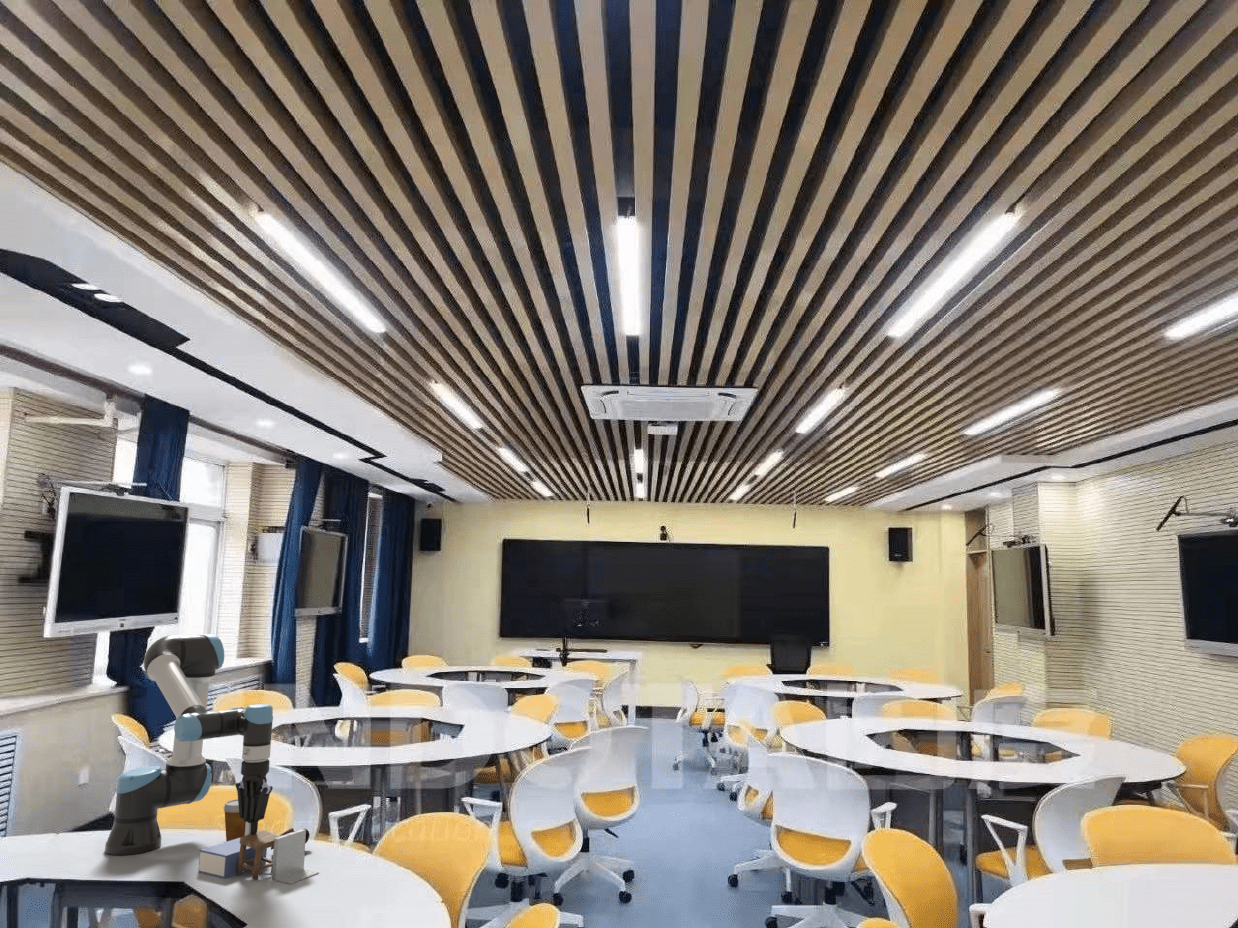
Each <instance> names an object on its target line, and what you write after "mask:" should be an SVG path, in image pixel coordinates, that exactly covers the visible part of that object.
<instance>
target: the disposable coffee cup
mask: <svg viewBox="0 0 1238 928" xmlns="http://www.w3.org/2000/svg"><path fill="white" fill-rule="evenodd" d="M222 807H223V811H224V825H225V827H224V828H225V842H227V841H231V840H234V839H237V838H240V837H244V836H245V832H244V825H245V821H244V819H243V818H240V817H239V805H238V798H236V799H231V800H227V801H226V802H225V803H224V806H222ZM243 813H244V812H243Z"/></svg>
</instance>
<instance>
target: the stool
mask: <svg viewBox="0 0 1238 928" xmlns="http://www.w3.org/2000/svg"><path fill="white" fill-rule="evenodd" d="M279 836H280V835H277V834H275V833H272V832H269V831H266V830H261V831H257V833H255V834H250V835H247V836H244V837H240V844H241V845H240V852H239V859H238V866H237V873H238V874H239V875H240V874H241V875H242V873H244V872H243V867H245V868H247V869H250V870H249V871H252V877H251V880H252V881H258V880H259V876H260V871H263V870H265V869H268V868H270V869H271V870H270V873H271V874H272V866H273V859H270V858H268V857H266V858H265V857H263V851H264V849H266V848H267V849H269V848H271V847H272V846H274V838H276V837H279ZM246 846H248V847H250V848H253V849H256V855H255V857H254V858H251V859H248V860H245V853H246ZM244 860H245V861H244ZM253 861H255V862H254V867H253V866H251V865H248V864H247V863H250V862H253ZM262 861H265V862H266V864H264V865H262ZM261 865H262V866H261ZM238 874H237V875H238Z"/></svg>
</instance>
